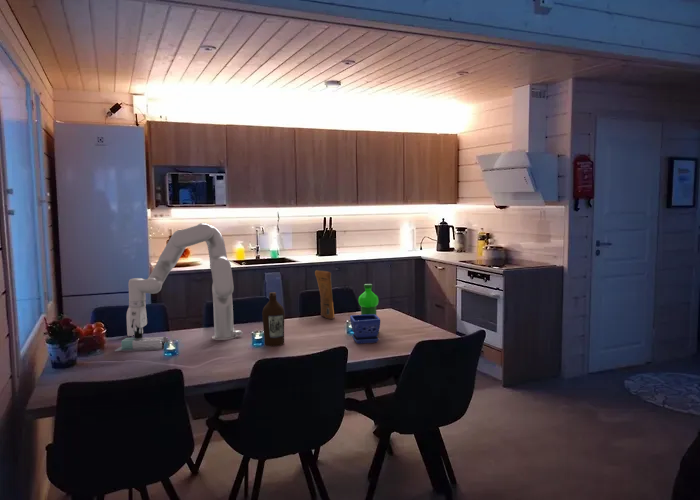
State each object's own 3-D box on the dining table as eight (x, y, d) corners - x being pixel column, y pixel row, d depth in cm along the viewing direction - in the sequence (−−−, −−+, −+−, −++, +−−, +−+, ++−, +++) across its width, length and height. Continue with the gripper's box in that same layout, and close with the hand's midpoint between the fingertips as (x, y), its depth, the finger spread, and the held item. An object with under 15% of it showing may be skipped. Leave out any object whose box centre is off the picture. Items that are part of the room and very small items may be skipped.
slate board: (181, 340, 277) (181, 339, 277) (169, 350, 257) (169, 349, 257) (129, 342, 277) (129, 340, 277) (113, 352, 257) (113, 351, 257)
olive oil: (260, 343, 268) (258, 292, 266) (281, 340, 273) (279, 290, 271) (266, 347, 259) (264, 295, 257) (288, 344, 263) (286, 293, 261)
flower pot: (381, 343, 261) (381, 318, 260) (354, 345, 259) (353, 320, 258) (375, 337, 274) (375, 313, 273) (349, 339, 272) (349, 315, 271)
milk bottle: (137, 337, 288) (135, 299, 287) (124, 337, 290) (122, 299, 288) (145, 333, 296) (143, 297, 294) (133, 333, 297) (130, 297, 296)
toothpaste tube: (166, 345, 266) (166, 336, 265) (164, 346, 262) (164, 338, 262) (126, 346, 265) (126, 337, 265) (124, 348, 262) (123, 339, 262)
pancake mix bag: (327, 320, 320) (325, 272, 318) (315, 314, 337) (313, 269, 335) (337, 318, 323) (336, 271, 321) (325, 313, 340) (324, 268, 338)
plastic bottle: (362, 335, 280) (360, 286, 278) (357, 330, 290) (356, 283, 288) (381, 333, 282) (380, 285, 280) (376, 329, 292) (374, 282, 290)
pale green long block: (168, 346, 262) (168, 336, 262) (166, 348, 259) (165, 338, 258) (124, 348, 262) (123, 337, 261) (121, 350, 258) (120, 339, 258)
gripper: (139, 306, 258) (140, 344, 260) (150, 301, 273) (151, 337, 275) (123, 306, 258) (124, 345, 260) (135, 301, 273) (136, 337, 275)
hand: (138, 341), depth 267 cm, fingers closed
